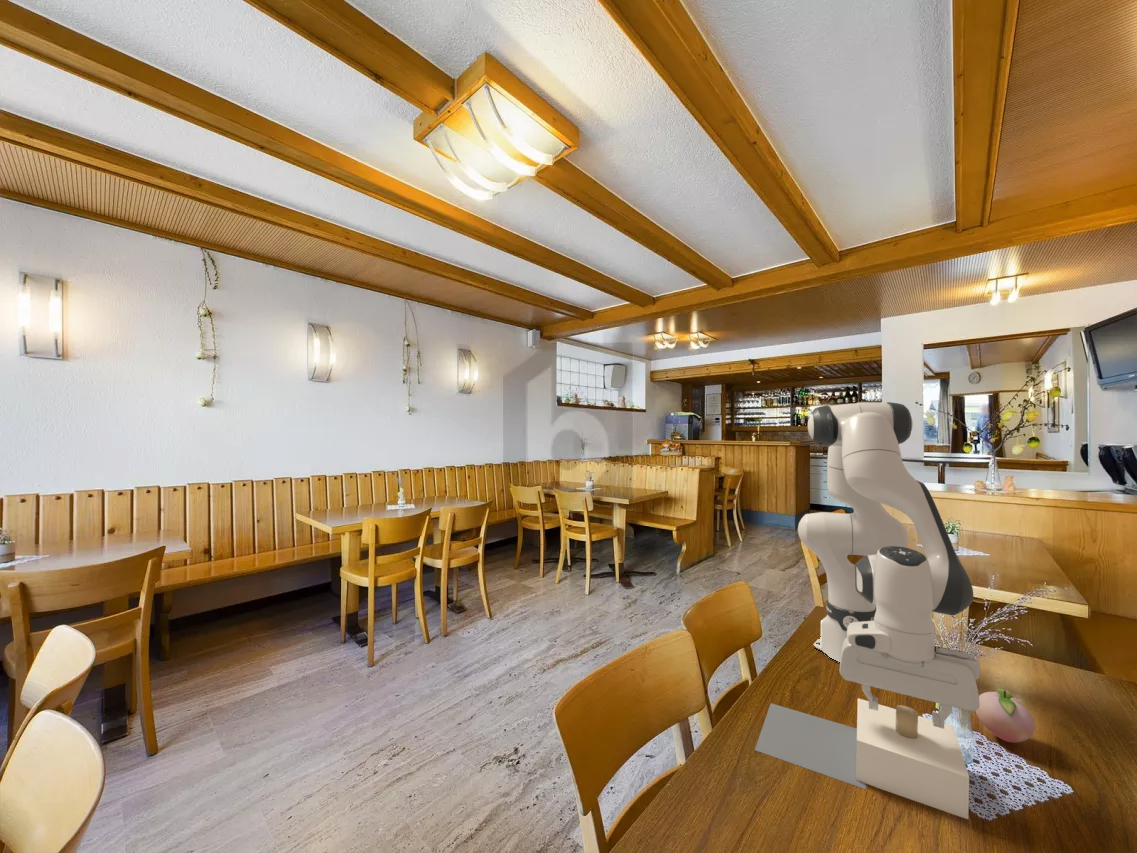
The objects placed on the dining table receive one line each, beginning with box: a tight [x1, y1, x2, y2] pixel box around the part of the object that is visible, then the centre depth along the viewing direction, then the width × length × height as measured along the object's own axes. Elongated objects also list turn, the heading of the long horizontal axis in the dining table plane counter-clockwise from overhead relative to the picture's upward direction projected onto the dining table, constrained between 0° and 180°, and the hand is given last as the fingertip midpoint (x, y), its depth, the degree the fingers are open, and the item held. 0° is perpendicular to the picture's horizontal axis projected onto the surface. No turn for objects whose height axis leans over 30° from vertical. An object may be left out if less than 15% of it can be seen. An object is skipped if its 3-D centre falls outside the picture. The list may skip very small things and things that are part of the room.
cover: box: [856, 698, 970, 820], centre depth 82 cm, size 15×15×11 cm
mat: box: [754, 702, 867, 790], centre depth 90 cm, size 18×18×1 cm
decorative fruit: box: [975, 688, 1036, 744], centre depth 91 cm, size 9×8×10 cm
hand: (904, 716), depth 82 cm, fingers open, 8 cm apart
